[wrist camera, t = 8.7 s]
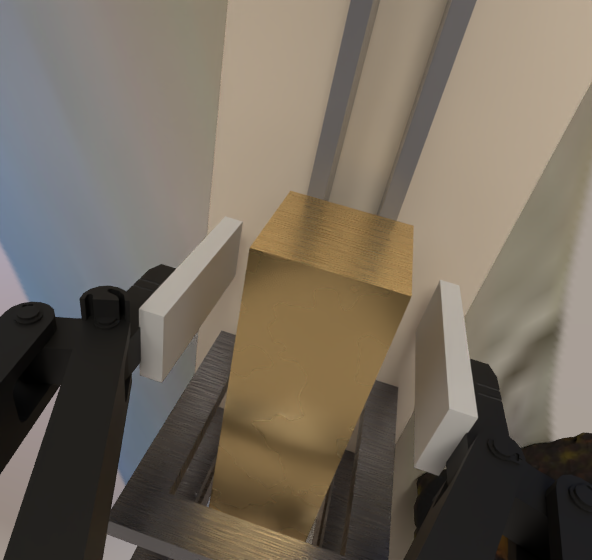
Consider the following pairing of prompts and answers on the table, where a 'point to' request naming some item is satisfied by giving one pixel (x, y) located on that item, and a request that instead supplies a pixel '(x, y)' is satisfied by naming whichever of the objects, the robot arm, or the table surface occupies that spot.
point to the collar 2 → (204, 465)
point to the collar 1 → (231, 530)
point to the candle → (544, 457)
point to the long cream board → (395, 130)
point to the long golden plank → (306, 356)
